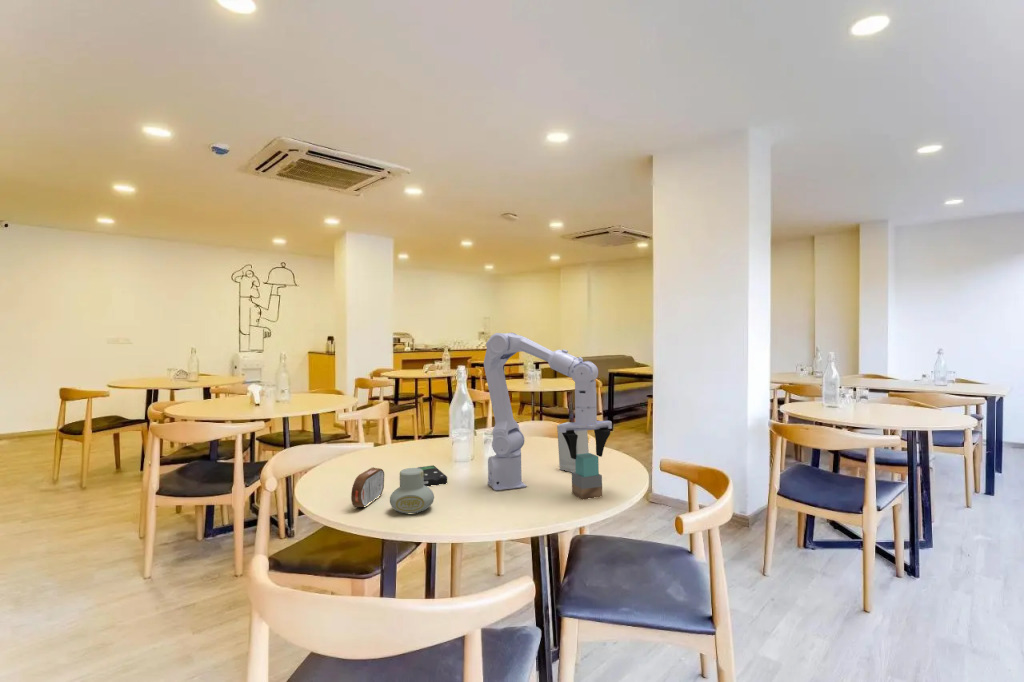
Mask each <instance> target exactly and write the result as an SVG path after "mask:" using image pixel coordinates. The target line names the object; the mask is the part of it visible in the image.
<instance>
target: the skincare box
mask: <svg viewBox="0 0 1024 682" xmlns="http://www.w3.org/2000/svg"><path fill="white" fill-rule="evenodd" d="M567 423H571V422H570V421H566V422H563V423H562V424H567ZM560 424H561V423H559V424H557V425H556V429H557V444H558V462H559V471H564V470H565V472H570V473H572V472H576V464H575V459H572V458H571V456H570V451H569V448H568V445H567V442H566V440H565V438H564V436H563V434H562V432H560ZM574 432H575V434H577V435H578V438H577V445H576V452H577V454H585V453H590V451H589V437H588V430H583V431H574Z"/></svg>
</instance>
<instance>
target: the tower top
mask: <svg viewBox="0 0 1024 682" xmlns="http://www.w3.org/2000/svg"><path fill="white" fill-rule="evenodd" d="M572 483H573V484H574V485H576V486H577V487H579V488H581V489H587V488H595V487H602V488H603V475H602V474H600V473H599V475H597V476H590V477H582V476H580V475H578V474H577V473H576V472H571V484H572Z"/></svg>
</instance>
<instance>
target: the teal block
mask: <svg viewBox="0 0 1024 682" xmlns="http://www.w3.org/2000/svg"><path fill="white" fill-rule="evenodd" d="M575 464H576V473H577V474H578V475H580V476H582V477H590V476H597V475H599V474H600V473H599V472H600V471H599V464H600V463H599V456H598V455H596V454H593V453H592V452H589V453H585V454H577V457H576V459H575Z"/></svg>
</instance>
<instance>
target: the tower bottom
mask: <svg viewBox="0 0 1024 682" xmlns="http://www.w3.org/2000/svg"><path fill="white" fill-rule="evenodd" d="M571 493H572V494H573V496H576V497H577V498H579V499H580V500H581V501H582V500H583V499H584V500H589V499H588V498H591V499H595V498H594V497H598V498H601V497H600V496H602V497H603V486H602V487H595V488H587V489H581V488H579V487H577V486H576V485H574V484H573V483H572V482H571Z"/></svg>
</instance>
